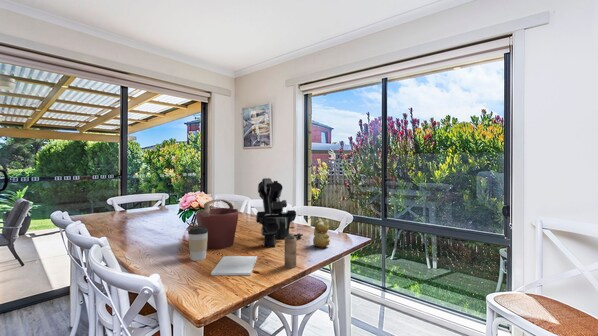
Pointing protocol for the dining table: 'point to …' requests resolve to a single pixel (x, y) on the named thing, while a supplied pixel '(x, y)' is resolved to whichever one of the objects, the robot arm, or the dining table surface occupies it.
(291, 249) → the pepper mill
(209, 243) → the bucket
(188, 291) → the dining table surface
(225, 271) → the ceramic tile
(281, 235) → the milk frother
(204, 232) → the coffee cup
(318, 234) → the decorative figurine
